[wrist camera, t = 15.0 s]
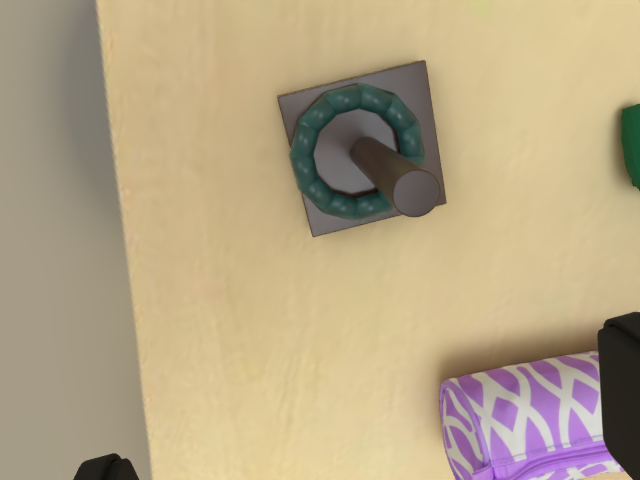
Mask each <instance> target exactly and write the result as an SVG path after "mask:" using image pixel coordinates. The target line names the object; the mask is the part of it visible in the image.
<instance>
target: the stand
mask: <svg viewBox="0 0 640 480" xmlns="http://www.w3.org/2000/svg"><path fill="white" fill-rule="evenodd" d="M358 83H362V84H366V85H369V86H373V87H376V88H379V89H383V90H386V91H389V92H392V93H395V94H396V95H397V96H398V97H399V98H400V99H401V100H402V102H403V103H404V104H405V105H406V106H407V107H408V108H409V110H410V111H411V112H412V113H413V114H414V115H415V116H416V118H417V119H418V121H419V124H420V129H421V135H422V140H423V146H424V152H425V157H424V160H423V163H422V166H419V165H417V164H416V163H414V162H412V161H411V160H409V159H408V158H406V157H404V156H403V155H401V151H400V146H399V141H398V136H397V132H396V131H395V130H394V129H393V127H392V126H391V125H390V124H389V123H388V122H387V121H386V120H385V118H384V117H383V116H382V115H379V114H375V113H372V112H369V111H365V110H362V109H357V110H354V111H350V112H346V113H343V114H339V115H336V116H335V117H334V118H333V119H332V120H331V121H330V122H329V123H328V124H327V125H326V126H325V127H324V128H323V129H322V130H321V131H320V133H319V136H318V140H317V144H316V147H315V151H314V155H313V156H314V160H315V164H316V168H317V171H318V175H319V178H320V179H321V180H322V181H323V182H324V183H325V184H326V185H327V186H328V187H329V188H330V189H331V190H332V191H333V192H334V193H337V194H341V195H345V196H349V197H353V198H358V197H362V196H366V195H369V194H373V193H377V192H378V191H380V192H381V193H382V194H383V195H384V196H385V197H386V198H387V199H388V200H389V202H390V203H391V204H392V205H393V206H394V208H393V209H392V210H391V211H389V212H388V213H385V214H381V215H377V216H374V217H370V218H366V219H362V220H359V221H352V220H348V219H344V218H340V217H336V216H332V215H328V214H325V213H323V212H321V211H320V210H319V209H318V208H317V207H316V206H315V205H314V204H313V203H312V202H311V201H310V200H309V199H308V198H307V197H306V196H305V195H304V194H303V193H302V192H301V193H302V197H303V201H304V205H305V209H306V213H307V217H308V221H309V225H310V229H311V233H312V236H313V237H316V236H320V235H324V234H328V233H332V232H336V231H339V230H343V229H347V228H351V227H355V226H359V225H363V224H367V223H371V222H375V221H379V220H383V219H387V218H391V217H395V216H399V215H405V216H408V217H420V216H423V215H425V214H427V213H429V212H430V211H431V210H432V209H433V208H434V207H435V206H439V205H443V204H446V196H445V189H444V182H443V176H442V169H441V162H440V155H439V149H438V142H437V135H436V129H435V122H434V115H433V108H432V102H431V95H430V88H429V81H428V75H427V68H426V61H425V60H421V61H415V62H411V63H407V64H403V65H399V66H395V67H391V68H387V69H383V70H379V71H375V72H371V73H367V74H363V75H359V76H355V77H351V78H347V79H343V80H339V81H335V82H331V83H327V84H323V85H318V86H314V87H310V88H306V89H302V90H298V91H294V92H290V93H286V94H282V95H278V96H277V98H278V102H279V106H280V110H281V114H282V118H283V122H284V126H285V130H286V134H287V138H288V141H289V145H290V149H291V145H292V142H293V138H294V134H295V130H296V126H297V122H298V120H299V118H300V117H301V116H302V115H303V114H304V113H305V112H306V111H307V110H308V109H309V108H310V107H311V106H312V105H313V104H314V103H315V102H316V101H317V100H318V99H319V98H320V97H321V96H322V95H323V94H324V93H326V92H328V91H332V90H336V89H340V88H343V87H347V86H351V85H354V84H358Z"/></svg>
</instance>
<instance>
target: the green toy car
mask: <svg viewBox="0 0 640 480" xmlns="http://www.w3.org/2000/svg"><path fill="white" fill-rule="evenodd" d="M622 146H623V153H624V159H625V165H626V168H627V171H628V173H629V175H630V177H631V179H632V184H633V186H636V187H637V188H638V189H639V190H640V104H637V105H634V106H631V107H628V108H625V109H623V110H622Z"/></svg>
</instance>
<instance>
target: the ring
mask: <svg viewBox="0 0 640 480" xmlns="http://www.w3.org/2000/svg"><path fill="white" fill-rule="evenodd" d="M357 109H362V110H365V111H369V112H372V113H375V114H379V115H382V116H383V117H384V118H385V120H386V121H387V122H388V123H389V124H390V125H391V126H392V127H393V129H394V130H395V131H396V132H397V136H398V141H399V146H400V151H401V155H403V156H404V157H406V158H408V159H409V160H411V161H412V162H414V163H416V164H417V165H419V166H422V163H423V160H424V157H425V152H424V146H423V140H422V135H421V129H420V124H419V121H418V119H417V118H416V116H415V115H414V114H413V113H412V112H411V111H410V110H409V108H408V107H407V106H406V105H405V104H404V103H403V102H402V100H401V99H400V98H399V97H398V96H397V95H396V94H395V93H392V92H389V91H386V90H383V89H379V88H376V87H373V86H369V85H366V84H362V83H358V84H354V85H351V86H347V87H343V88H340V89H336V90H332V91H328V92H326V93H324V94H323V95H322V96H321V97H320V98H319V99H318V100H317V101H316V102H315V103H314V104H313V105H312V106H311V107H310V108H309V109H308V110H307V111H306V112H305V113H304V114H303V115H302V116H301V117H300V118H299V120H298V122H297V126H296V130H295V134H294V138H293V142H292V145H291V149H290V154H289V156H290V161H291V164H292V168H293V171H294V175H295V179H296V182H297V186H298V189H299V190H300V191H301V192H302V193H303V194H304V195H305V196H306V197H307V198H308V199H309V200H310V201H311V202H312V203H313V204H314V205H315V206H316V207H317V208H318V209H319V210H320V211H321V212H323V213H325V214H328V215H332V216H336V217H340V218H344V219H348V220H352V221H359V220H362V219H366V218H370V217H374V216H377V215H381V214H385V213H388V212H389V211H391V210H392V209H393V208H394V206H393V205H392V204H391V203H390V202H389V200H388V199H387V198H386V197H385V196H384V195H383V194H382V193H381V192H380V191H378V192H377V193H373V194H369V195H366V196H362V197H358V198H353V197H349V196H345V195H341V194H337V193H334V192H333V191H332V190H331V189H330V188H329V187H328V186H327V185H326V184H325V183H324V182H323V181H322V180H321V179H320V178H319V175H318V171H317V168H316V164H315V160H314V156H313V155H314V151H315V147H316V144H317V140H318V136H319V133H320V131H321V130H322V129H323V128H324V127H325V126H326V125H327V124H328V123H329V122H330V121H331V120H332V119H333V118H334V117H335V116H336V115H339V114H343V113H346V112H350V111H354V110H357Z"/></svg>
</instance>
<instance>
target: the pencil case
mask: <svg viewBox="0 0 640 480" xmlns="http://www.w3.org/2000/svg"><path fill="white" fill-rule="evenodd" d="M439 402H440V414H441V421H442V431H443V441H444V447H445V452H446V455H447V459H448V462H449V465H450V467H451V469H452V472H453V474H454V477H455V479H456V480H576V479H581V478H586V477H591V476H594V475H598V474H601V473H615V472H622V471H625V470H624V469H623V468H622V467H621V466H620V465H619V464H618V463H617V462H616V460H615V459H614V458H613V457H612V456H611V455H610V453H609V451H608V450H607V448H606V446H605V443H604V440H603V430H602V412H601V393H600V374H599V356H598V350H595V351H590V352H584V353H576V354H571V355H564V356H559V357H553V358H547V359H543V360H538V361H534V362H528V363H522V364H515V365H507V366H504V367H501V368H496V369H491V370H487V371H483V372H478V373H473V374H468V375H464V376H461V377H459V378H451V379H447V380H446V381H445V382H443V383H442V384H441V387H440V400H439Z"/></svg>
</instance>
